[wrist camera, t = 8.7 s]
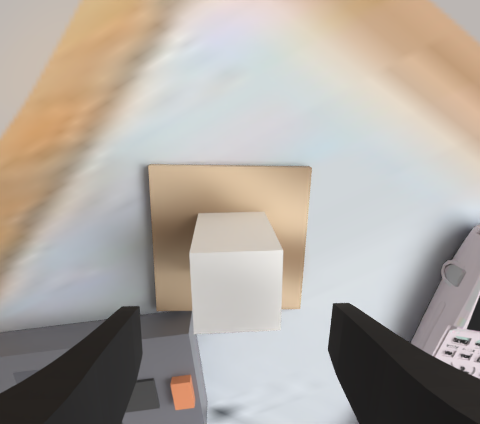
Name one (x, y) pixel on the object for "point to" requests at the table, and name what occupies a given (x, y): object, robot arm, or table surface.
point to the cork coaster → (224, 201)
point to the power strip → (150, 373)
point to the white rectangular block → (235, 273)
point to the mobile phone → (455, 311)
